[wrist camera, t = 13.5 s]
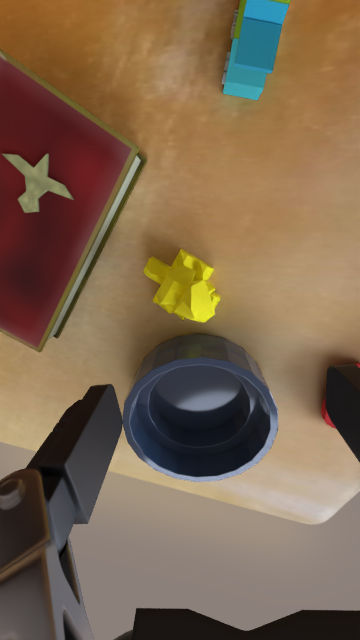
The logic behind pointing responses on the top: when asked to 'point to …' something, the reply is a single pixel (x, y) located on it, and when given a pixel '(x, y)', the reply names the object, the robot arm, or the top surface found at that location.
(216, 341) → the bowl
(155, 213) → the top surface
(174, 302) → the yellow faceted lump
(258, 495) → the top surface
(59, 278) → the hardcover book
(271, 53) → the chart
